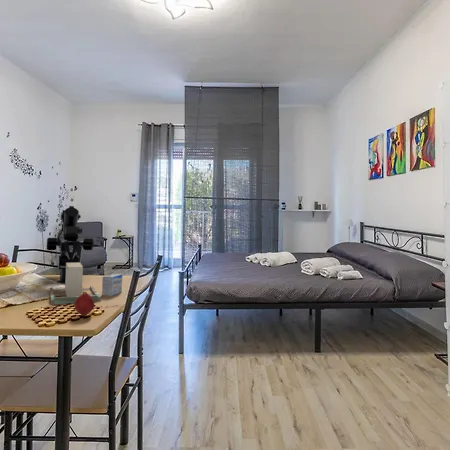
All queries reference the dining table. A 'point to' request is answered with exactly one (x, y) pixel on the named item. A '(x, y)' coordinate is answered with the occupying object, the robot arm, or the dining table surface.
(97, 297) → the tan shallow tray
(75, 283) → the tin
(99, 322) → the dining table surface
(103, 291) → the medicine box
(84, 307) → the onion
